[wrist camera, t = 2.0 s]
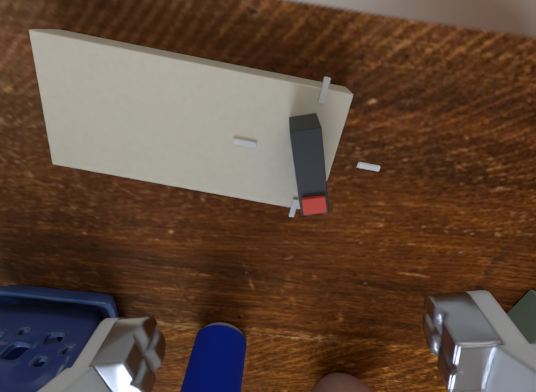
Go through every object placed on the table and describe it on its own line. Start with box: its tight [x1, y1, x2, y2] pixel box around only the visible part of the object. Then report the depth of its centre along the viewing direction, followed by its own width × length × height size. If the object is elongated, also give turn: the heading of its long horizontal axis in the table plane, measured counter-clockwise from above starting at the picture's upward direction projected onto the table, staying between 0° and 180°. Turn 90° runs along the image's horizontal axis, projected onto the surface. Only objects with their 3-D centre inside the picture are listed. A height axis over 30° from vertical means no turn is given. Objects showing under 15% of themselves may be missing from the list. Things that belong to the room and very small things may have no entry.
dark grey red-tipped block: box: [289, 113, 329, 216], centre depth 17 cm, size 5×2×3 cm, turn 10°
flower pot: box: [0, 285, 119, 392], centre depth 26 cm, size 13×13×12 cm
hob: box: [29, 29, 380, 217], centre depth 20 cm, size 21×9×3 cm, turn 80°
